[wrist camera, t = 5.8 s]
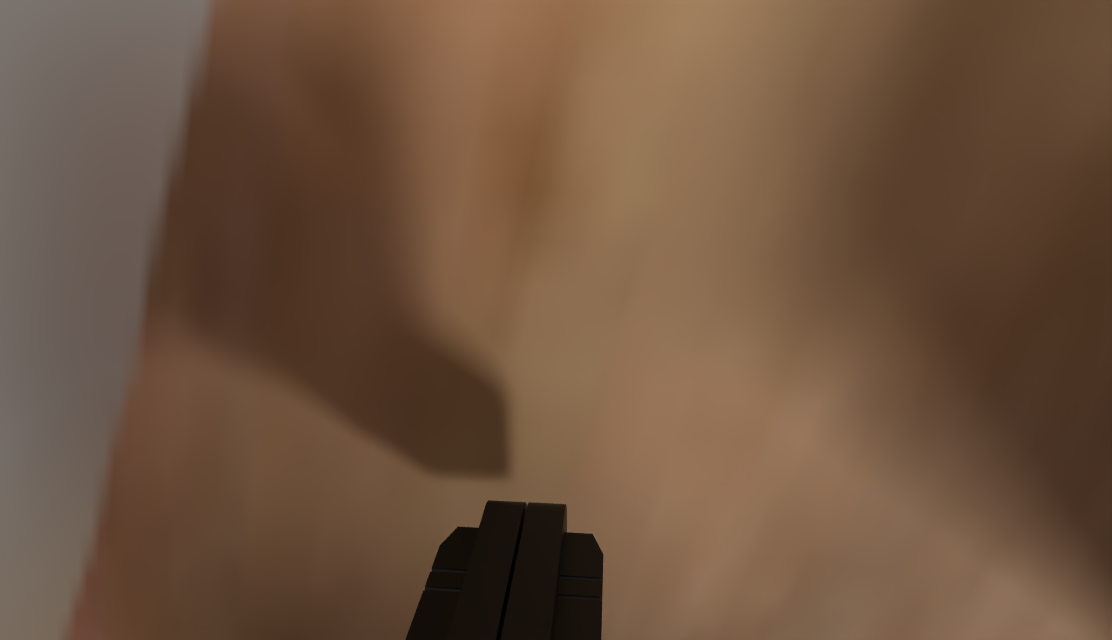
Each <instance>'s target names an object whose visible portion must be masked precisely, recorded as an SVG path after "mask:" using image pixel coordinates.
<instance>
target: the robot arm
mask: <svg viewBox="0 0 1112 640" xmlns="http://www.w3.org/2000/svg"><path fill="white" fill-rule="evenodd" d="M602 586H603V553H602V551H601V549H600V547H599V545H598V543H597V542H596V540H595V538H594V536H593V534H584V533H567V506H566V504H550V503H530V502H529V503H528V505H527V504H526V502H508V501H487V503H486V506H485V510H484V513H483V516H482V520H481V523H480V526H479V528H472V527H457V528H456V529H455V530H454V531H453V532H452V533H451V534H450V536H449V537H448V538H447V539H446V540H445V541H444V542H443V543H442V544H441V545H440V547H439V550H438V552H437V555H436V558H435V560H434V563H433V566H432V572H430V574H429V577H428V580H427V582H426V585H425V591H423V593H422V596H421V599H420V601H419V604H418V607H417V610H416V612H415V615H414V618H413V620H412V623H411V626H410V629H409V631H408V634H407V637H406V640H601V626H602Z"/></svg>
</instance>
